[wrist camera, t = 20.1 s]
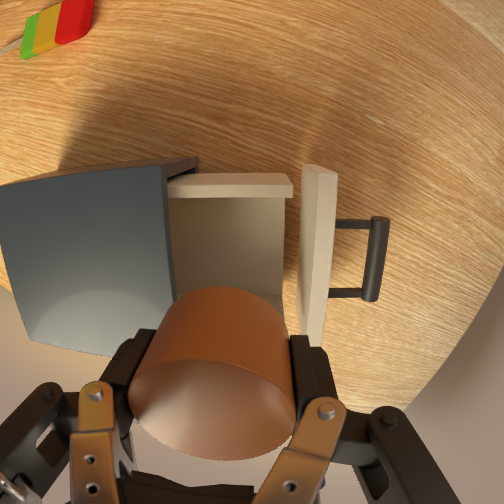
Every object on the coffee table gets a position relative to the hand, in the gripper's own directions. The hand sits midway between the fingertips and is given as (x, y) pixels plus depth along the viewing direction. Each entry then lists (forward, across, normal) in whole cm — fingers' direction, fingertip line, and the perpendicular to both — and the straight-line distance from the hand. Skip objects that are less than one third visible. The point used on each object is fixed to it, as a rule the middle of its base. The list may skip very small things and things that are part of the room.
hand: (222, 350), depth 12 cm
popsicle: (+17, +23, -24) cm, 37 cm away
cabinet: (+16, +12, 0) cm, 20 cm away
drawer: (+15, -1, 0) cm, 15 cm away
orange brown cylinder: (0, 0, 0) cm, 1 cm away
